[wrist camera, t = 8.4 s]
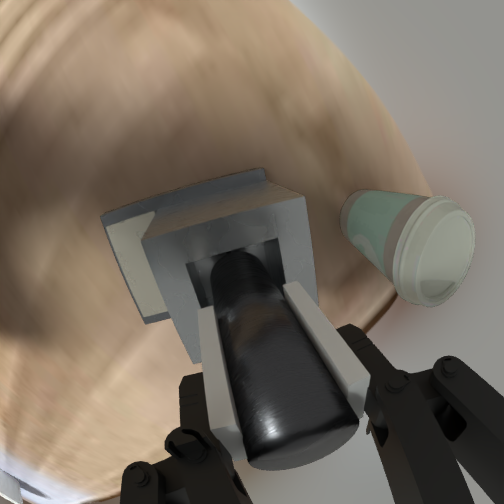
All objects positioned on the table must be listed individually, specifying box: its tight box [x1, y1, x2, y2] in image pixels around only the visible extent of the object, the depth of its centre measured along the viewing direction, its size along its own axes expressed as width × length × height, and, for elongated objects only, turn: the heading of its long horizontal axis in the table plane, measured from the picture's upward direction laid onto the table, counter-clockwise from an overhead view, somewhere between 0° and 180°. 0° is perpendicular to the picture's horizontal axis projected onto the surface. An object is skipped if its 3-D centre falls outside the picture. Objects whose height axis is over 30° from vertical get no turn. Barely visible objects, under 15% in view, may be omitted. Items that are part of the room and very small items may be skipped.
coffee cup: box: [340, 189, 475, 307], centre depth 21 cm, size 9×9×12 cm
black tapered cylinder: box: [210, 251, 359, 471], centre depth 12 cm, size 4×4×12 cm
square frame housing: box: [100, 168, 319, 364], centre depth 19 cm, size 14×11×9 cm
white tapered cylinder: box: [0, 469, 23, 504], centre depth 31 cm, size 24×24×12 cm
